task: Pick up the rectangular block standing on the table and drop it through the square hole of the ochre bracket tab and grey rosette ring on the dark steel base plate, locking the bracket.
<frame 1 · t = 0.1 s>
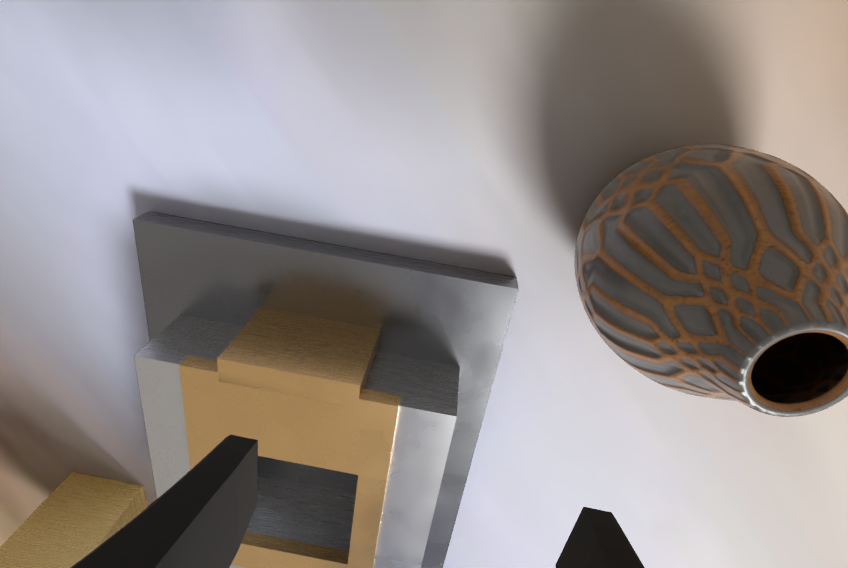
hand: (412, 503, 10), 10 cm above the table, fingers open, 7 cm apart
rectangular block: (113, 503, 28), on the table
rosette base: (319, 429, 24), on the table
vase: (655, 224, 18), on the table
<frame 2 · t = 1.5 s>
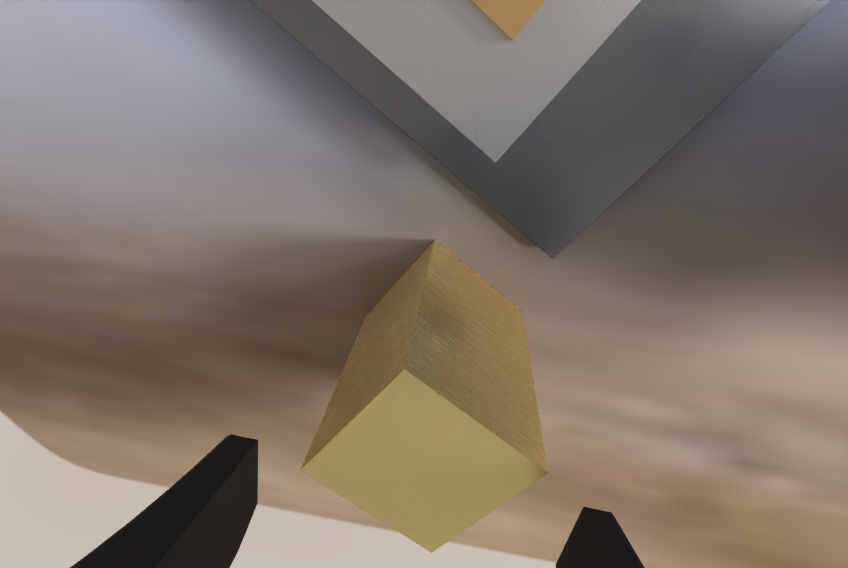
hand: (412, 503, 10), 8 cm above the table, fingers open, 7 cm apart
rectangular block: (442, 313, 18), on the table
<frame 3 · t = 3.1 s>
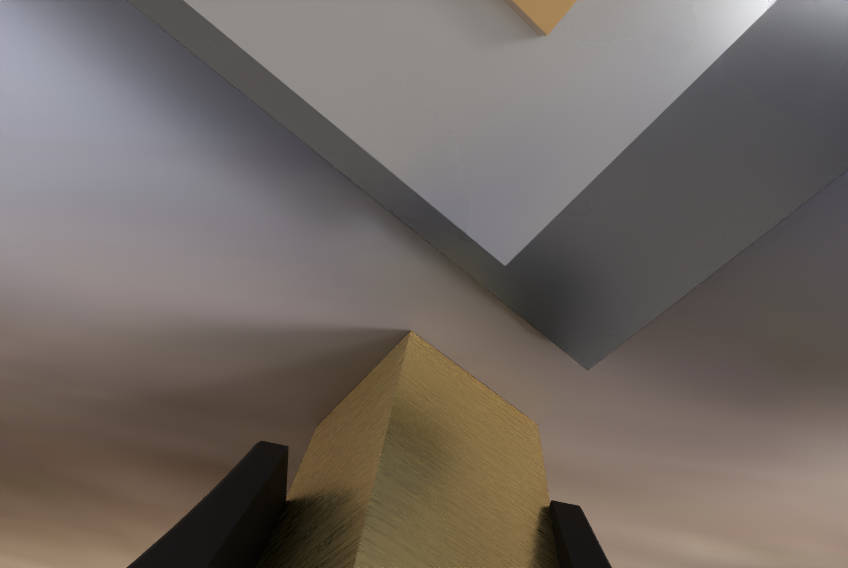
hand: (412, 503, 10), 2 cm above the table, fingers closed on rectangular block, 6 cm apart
rectangular block: (423, 425, 13), on the table, touching gripper
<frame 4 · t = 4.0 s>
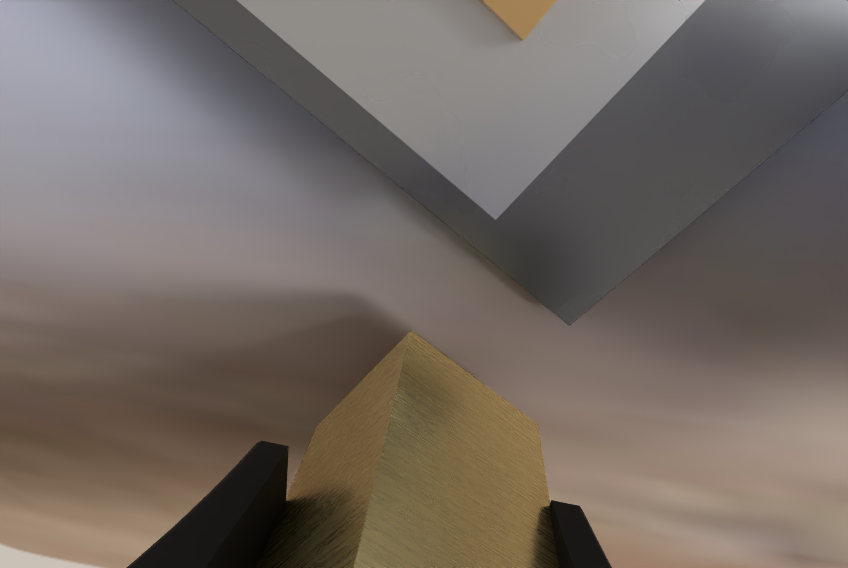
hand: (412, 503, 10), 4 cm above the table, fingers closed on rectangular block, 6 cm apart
rectangular block: (423, 425, 13), point 2 cm above the table, touching gripper
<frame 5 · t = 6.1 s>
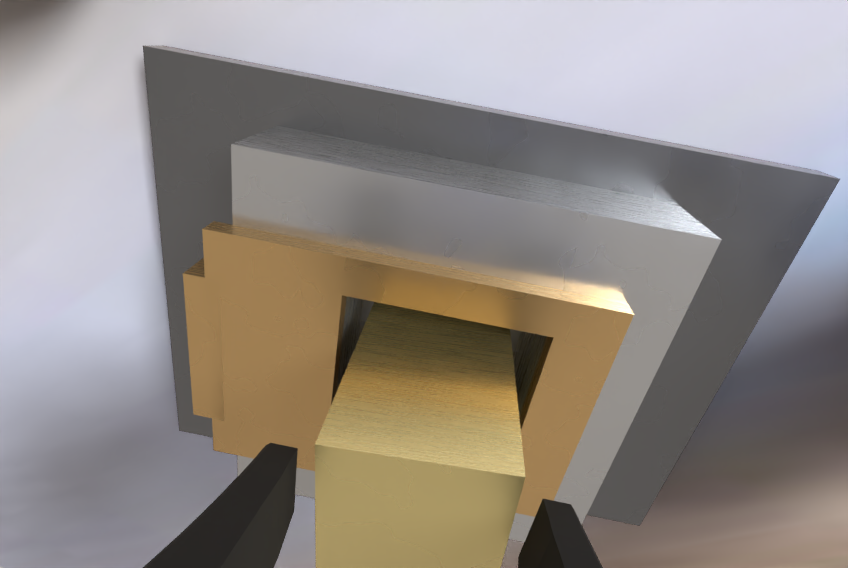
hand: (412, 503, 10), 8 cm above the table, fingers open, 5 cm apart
rectangular block: (437, 340, 17), point 1 cm above the table, touching rosette base
rosette base: (440, 317, 18), on the table
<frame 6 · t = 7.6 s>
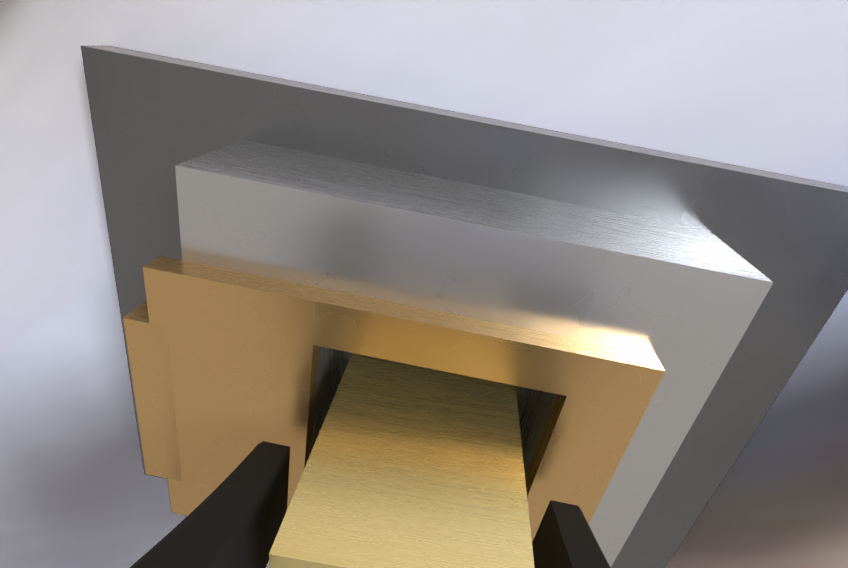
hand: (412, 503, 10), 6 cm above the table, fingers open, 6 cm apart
rectangular block: (430, 380, 15), point 1 cm above the table, touching rosette base
rosette base: (434, 353, 16), on the table
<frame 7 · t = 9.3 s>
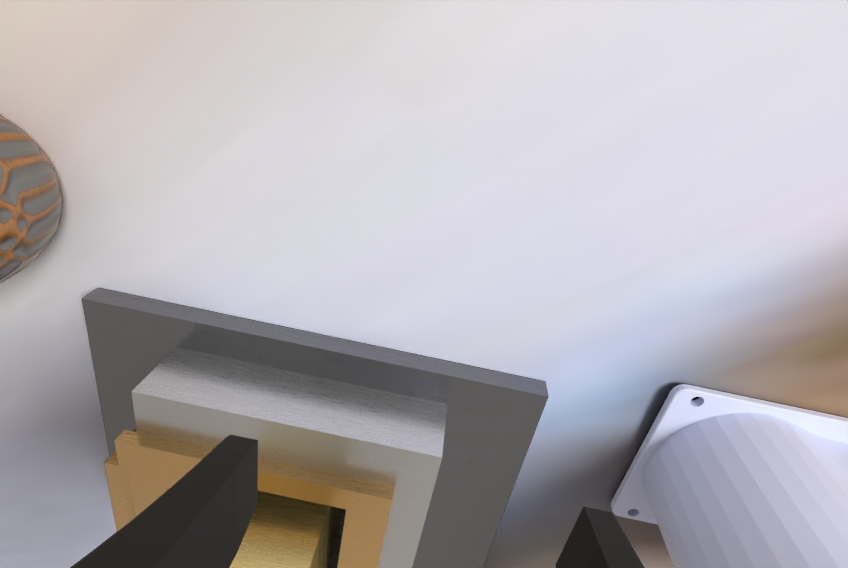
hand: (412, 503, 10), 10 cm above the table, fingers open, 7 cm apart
rectangular block: (302, 476, 23), point 1 cm above the table, touching rosette base
rosette base: (309, 455, 24), on the table
vase: (15, 172, 19), on the table
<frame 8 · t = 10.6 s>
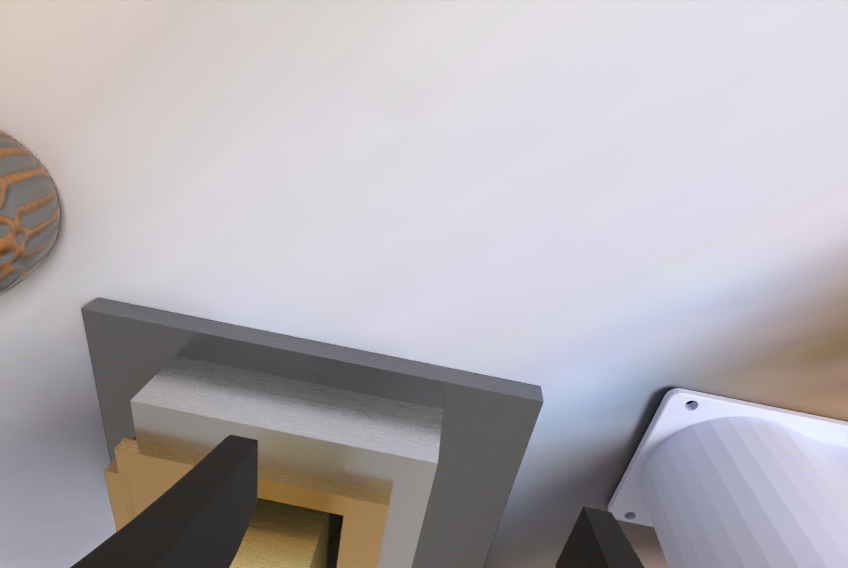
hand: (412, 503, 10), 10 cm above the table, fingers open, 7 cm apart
rectangular block: (301, 482, 24), point 1 cm above the table, touching rosette base
rosette base: (308, 461, 24), on the table
vase: (14, 185, 19), on the table
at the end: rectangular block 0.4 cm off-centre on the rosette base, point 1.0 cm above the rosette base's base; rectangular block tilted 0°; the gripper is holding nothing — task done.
